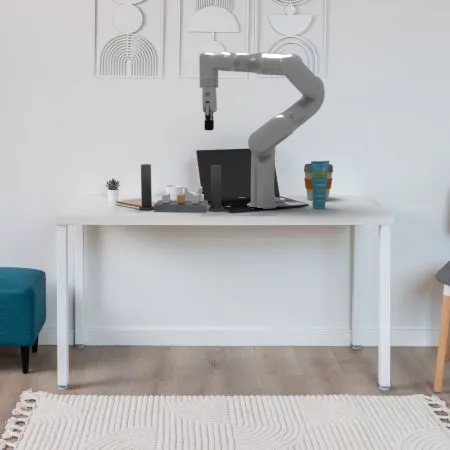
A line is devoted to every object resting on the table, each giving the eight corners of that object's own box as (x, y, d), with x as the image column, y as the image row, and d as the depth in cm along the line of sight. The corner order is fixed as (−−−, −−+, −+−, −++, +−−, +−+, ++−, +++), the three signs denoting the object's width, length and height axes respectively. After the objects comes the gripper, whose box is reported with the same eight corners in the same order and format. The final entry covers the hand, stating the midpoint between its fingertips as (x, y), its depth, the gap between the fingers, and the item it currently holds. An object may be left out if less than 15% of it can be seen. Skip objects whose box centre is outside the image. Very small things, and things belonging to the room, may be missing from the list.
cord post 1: (155, 208, 312) (154, 164, 309) (152, 210, 306) (151, 165, 303) (140, 208, 313) (139, 163, 309) (137, 210, 307) (136, 165, 304)
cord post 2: (224, 209, 310) (224, 164, 306) (222, 211, 304) (222, 166, 300) (209, 209, 310) (209, 164, 307) (207, 211, 304) (207, 166, 301)
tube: (312, 209, 309) (313, 161, 305) (308, 207, 314) (309, 160, 310) (329, 208, 311) (331, 161, 307) (325, 206, 315) (326, 159, 312)
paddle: (199, 201, 309) (199, 193, 309) (198, 203, 305) (198, 195, 304) (193, 201, 310) (193, 193, 309) (192, 203, 305) (192, 195, 304)
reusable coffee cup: (299, 200, 331) (300, 165, 328) (308, 196, 343) (308, 162, 340) (328, 202, 326) (328, 167, 324) (335, 198, 338) (336, 164, 335)
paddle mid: (185, 201, 310) (184, 193, 309) (183, 203, 305) (183, 195, 305) (179, 201, 310) (179, 193, 310) (177, 203, 305) (177, 195, 305)
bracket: (201, 205, 321) (201, 187, 319) (184, 205, 321) (184, 187, 320) (204, 200, 333) (204, 183, 332) (188, 200, 334) (188, 183, 333)
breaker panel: (207, 208, 312) (207, 200, 312) (204, 212, 302) (204, 204, 302) (158, 207, 314) (158, 199, 314) (154, 211, 304) (154, 203, 304)
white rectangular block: (170, 201, 311) (170, 193, 310) (168, 203, 306) (168, 195, 305) (164, 201, 311) (164, 193, 310) (162, 203, 306) (162, 195, 305)
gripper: (216, 84, 301) (216, 131, 305) (220, 83, 318) (220, 128, 321) (197, 84, 302) (197, 131, 305) (202, 83, 318) (202, 128, 322)
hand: (209, 129), depth 313 cm, fingers open, 3 cm apart
